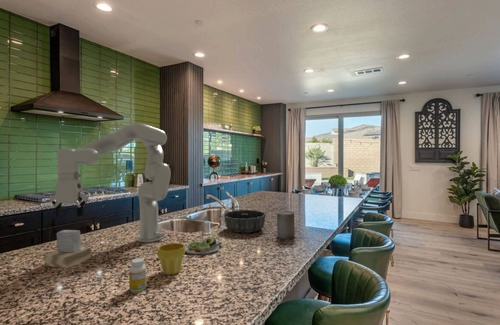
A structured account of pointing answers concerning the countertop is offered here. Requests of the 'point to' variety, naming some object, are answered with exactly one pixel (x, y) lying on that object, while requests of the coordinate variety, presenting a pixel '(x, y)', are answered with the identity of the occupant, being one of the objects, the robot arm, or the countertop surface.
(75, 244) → the medicine box
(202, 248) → the salad plate
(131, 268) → the supplement bottle
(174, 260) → the plant pot
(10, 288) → the countertop surface
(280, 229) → the pillar candle
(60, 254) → the birch block
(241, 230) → the bundt pan
